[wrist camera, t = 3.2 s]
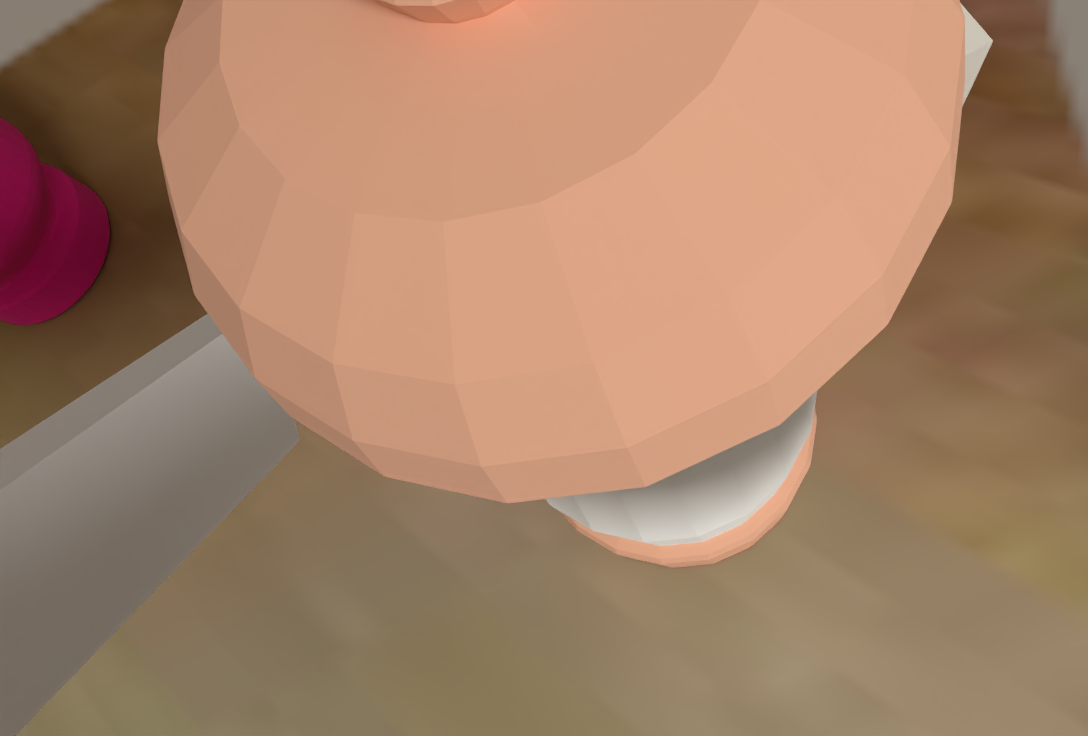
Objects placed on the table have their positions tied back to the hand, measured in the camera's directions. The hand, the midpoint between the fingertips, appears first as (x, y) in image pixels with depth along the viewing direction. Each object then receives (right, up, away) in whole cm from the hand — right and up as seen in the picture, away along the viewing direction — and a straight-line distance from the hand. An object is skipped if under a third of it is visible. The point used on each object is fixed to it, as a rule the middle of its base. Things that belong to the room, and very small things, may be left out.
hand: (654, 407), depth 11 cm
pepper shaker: (+2, -2, +11) cm, 11 cm away
